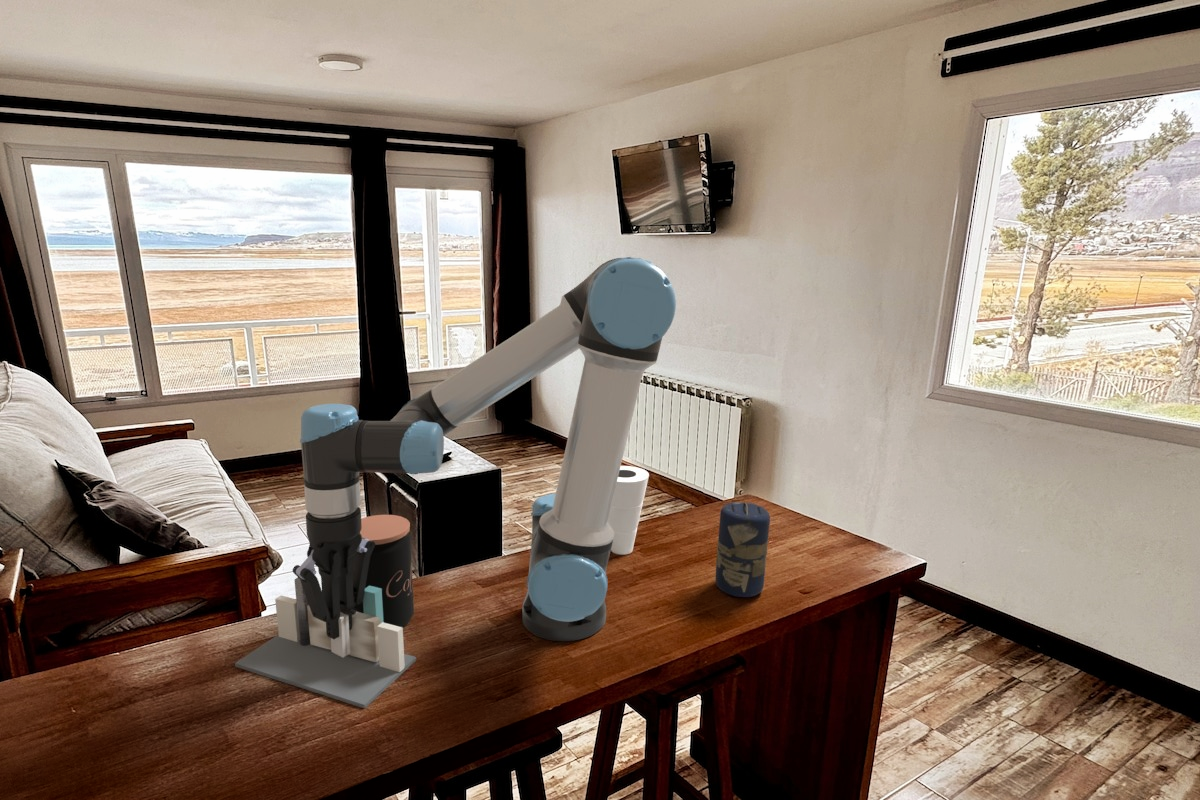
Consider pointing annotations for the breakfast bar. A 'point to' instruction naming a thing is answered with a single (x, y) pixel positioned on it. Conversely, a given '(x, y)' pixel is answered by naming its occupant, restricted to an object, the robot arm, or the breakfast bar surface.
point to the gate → (350, 635)
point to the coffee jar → (390, 566)
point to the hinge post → (302, 613)
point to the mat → (322, 670)
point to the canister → (742, 549)
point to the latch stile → (373, 602)
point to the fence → (387, 633)
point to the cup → (627, 507)
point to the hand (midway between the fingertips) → (340, 652)
